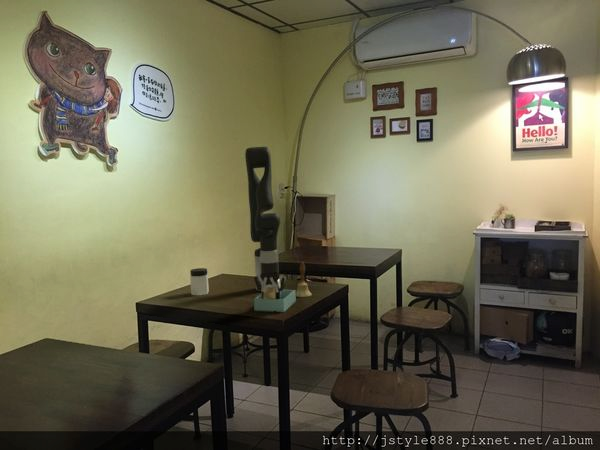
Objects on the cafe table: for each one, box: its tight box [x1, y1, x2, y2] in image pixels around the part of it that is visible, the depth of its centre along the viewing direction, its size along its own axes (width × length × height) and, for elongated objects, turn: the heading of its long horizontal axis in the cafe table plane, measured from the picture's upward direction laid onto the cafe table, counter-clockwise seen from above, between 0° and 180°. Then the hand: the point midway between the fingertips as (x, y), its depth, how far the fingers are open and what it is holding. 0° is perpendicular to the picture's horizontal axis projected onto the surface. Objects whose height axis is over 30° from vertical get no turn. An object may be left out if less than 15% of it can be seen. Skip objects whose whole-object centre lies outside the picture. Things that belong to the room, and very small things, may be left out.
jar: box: [189, 267, 210, 296], centre depth 234 cm, size 9×8×12 cm
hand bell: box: [295, 261, 313, 298], centre depth 222 cm, size 8×8×16 cm
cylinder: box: [269, 278, 281, 300], centre depth 210 cm, size 5×5×10 cm
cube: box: [263, 287, 276, 299], centre depth 201 cm, size 5×5×5 cm
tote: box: [253, 289, 297, 313], centre depth 206 cm, size 17×13×5 cm
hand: (271, 300), depth 201 cm, fingers closed on cube, 5 cm apart
